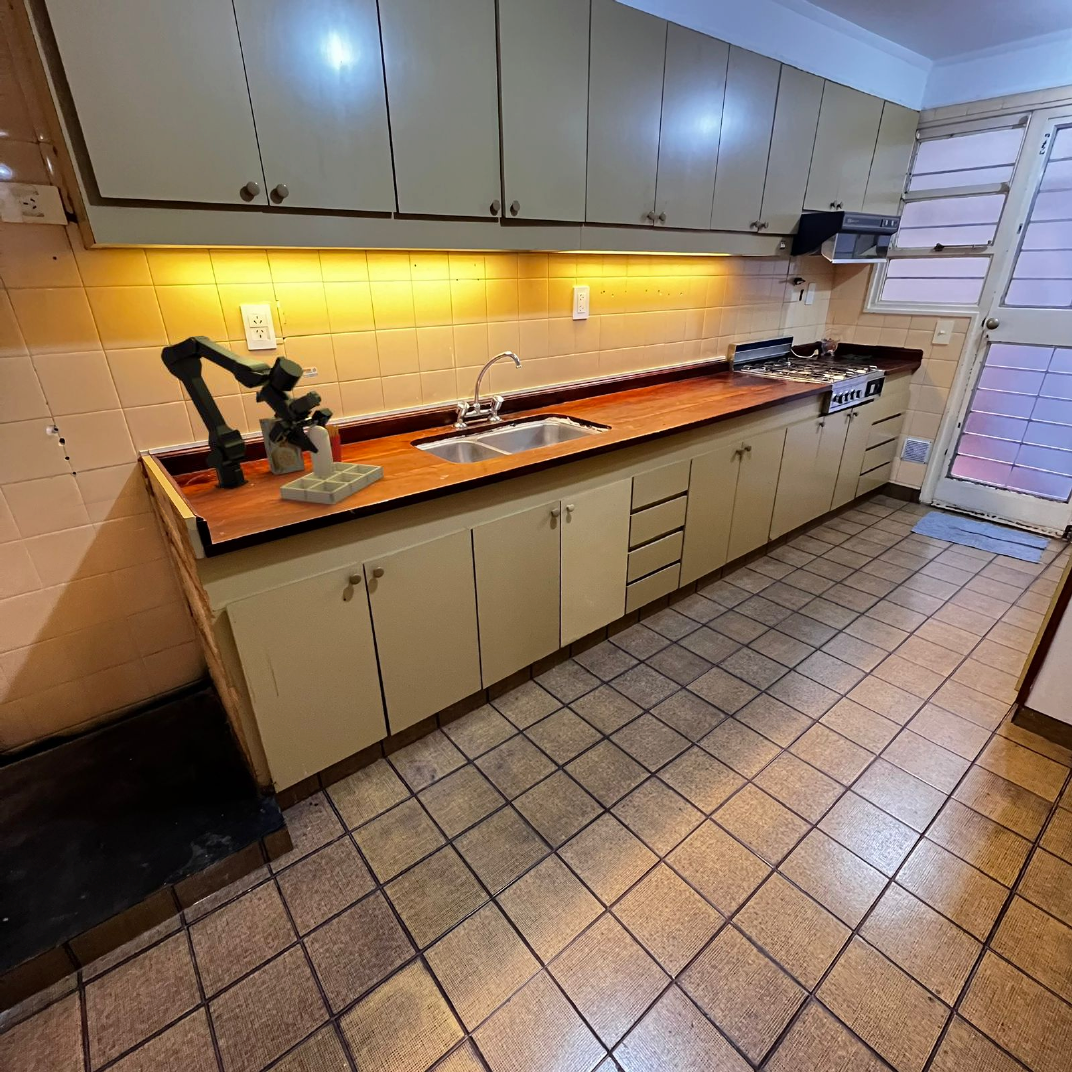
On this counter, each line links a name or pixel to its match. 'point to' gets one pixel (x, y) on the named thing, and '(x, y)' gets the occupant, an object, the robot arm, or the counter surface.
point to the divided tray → (332, 483)
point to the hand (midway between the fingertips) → (324, 449)
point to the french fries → (334, 442)
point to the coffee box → (281, 451)
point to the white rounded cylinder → (321, 452)
